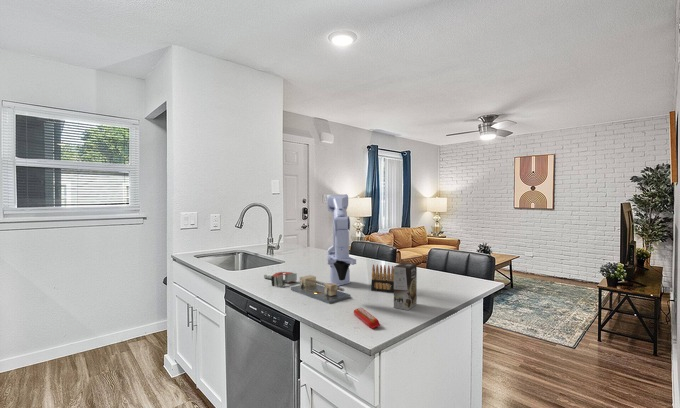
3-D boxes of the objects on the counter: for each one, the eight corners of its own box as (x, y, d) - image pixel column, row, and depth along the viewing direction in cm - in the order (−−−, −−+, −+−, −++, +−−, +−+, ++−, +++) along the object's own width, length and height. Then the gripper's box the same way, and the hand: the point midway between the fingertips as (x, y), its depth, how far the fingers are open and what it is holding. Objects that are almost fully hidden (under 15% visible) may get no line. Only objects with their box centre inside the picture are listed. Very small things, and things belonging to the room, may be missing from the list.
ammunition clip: (371, 290, 152) (370, 264, 152) (372, 289, 154) (372, 263, 154) (394, 293, 148) (394, 266, 148) (395, 292, 150) (395, 265, 150)
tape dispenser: (265, 280, 178) (259, 288, 159) (264, 270, 179) (258, 277, 159) (298, 278, 180) (296, 285, 160) (297, 268, 180) (296, 274, 160)
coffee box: (409, 310, 126) (409, 267, 125) (393, 307, 129) (393, 266, 129) (417, 304, 133) (417, 263, 133) (402, 301, 137) (401, 261, 136)
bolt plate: (311, 285, 162) (311, 282, 162) (350, 297, 142) (350, 294, 142) (290, 289, 154) (290, 287, 154) (329, 303, 134) (328, 300, 134)
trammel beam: (310, 283, 160) (310, 275, 160) (345, 294, 142) (345, 284, 142) (298, 286, 156) (298, 277, 155) (333, 298, 138) (332, 287, 138)
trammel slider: (331, 292, 145) (331, 282, 145) (337, 294, 142) (337, 284, 142) (323, 294, 142) (323, 284, 142) (329, 296, 139) (329, 286, 139)
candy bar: (352, 314, 123) (352, 306, 123) (361, 313, 124) (361, 305, 124) (371, 331, 108) (371, 322, 108) (381, 329, 109) (381, 320, 109)
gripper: (322, 245, 139) (323, 278, 140) (347, 249, 128) (347, 284, 129) (335, 243, 144) (335, 275, 144) (359, 247, 133) (360, 281, 134)
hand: (342, 279), depth 137 cm, fingers closed
